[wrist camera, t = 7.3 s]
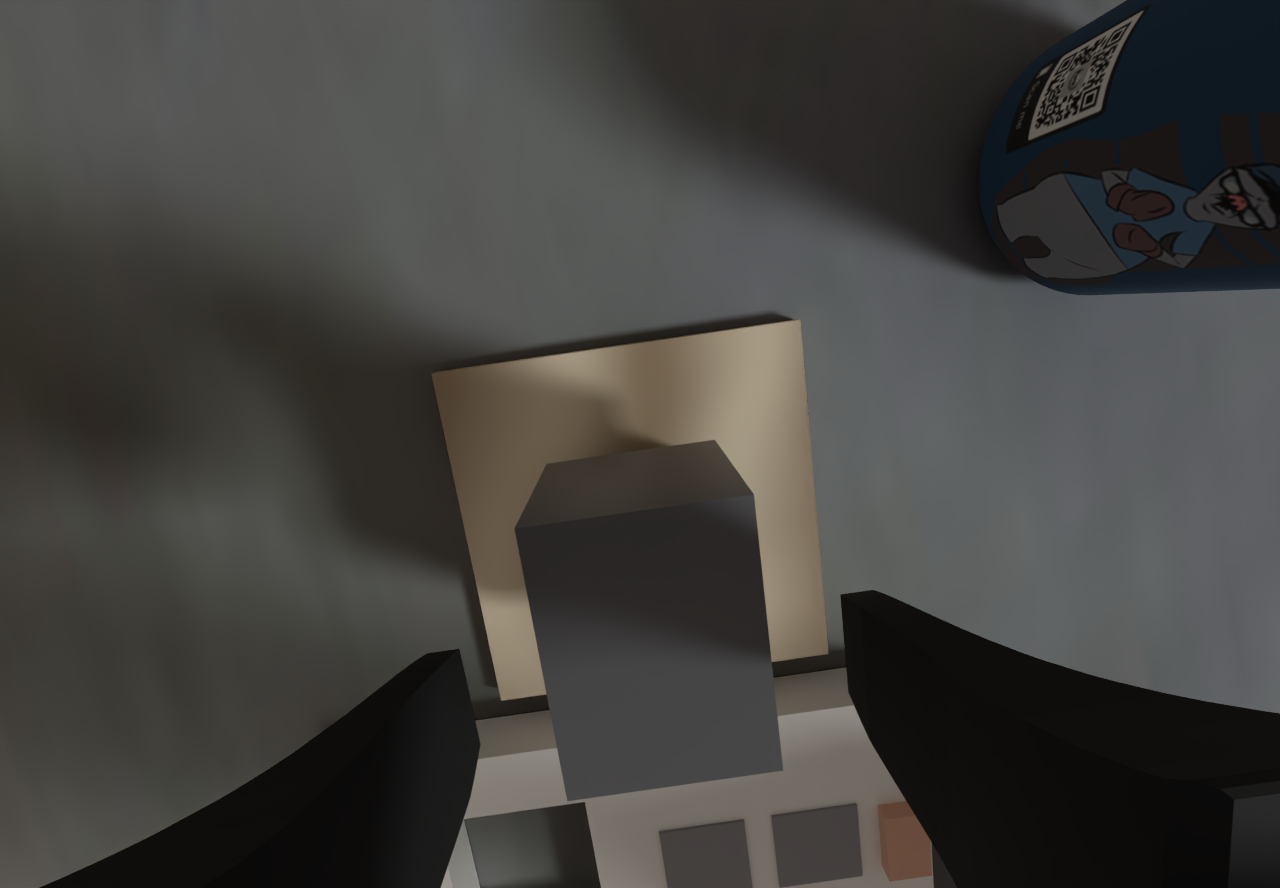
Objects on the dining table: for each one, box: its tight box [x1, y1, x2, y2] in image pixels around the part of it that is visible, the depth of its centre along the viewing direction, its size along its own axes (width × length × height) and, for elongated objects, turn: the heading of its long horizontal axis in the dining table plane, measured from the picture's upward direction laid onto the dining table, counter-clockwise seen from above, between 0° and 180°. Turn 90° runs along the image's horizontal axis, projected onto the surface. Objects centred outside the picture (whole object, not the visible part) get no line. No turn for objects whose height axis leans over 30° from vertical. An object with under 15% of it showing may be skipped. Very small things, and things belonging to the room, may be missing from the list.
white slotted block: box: [441, 668, 934, 888], centre depth 21 cm, size 18×10×3 cm, turn 98°
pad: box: [431, 320, 828, 701], centre depth 20 cm, size 11×11×1 cm
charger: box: [514, 440, 783, 801], centre depth 16 cm, size 4×6×8 cm
